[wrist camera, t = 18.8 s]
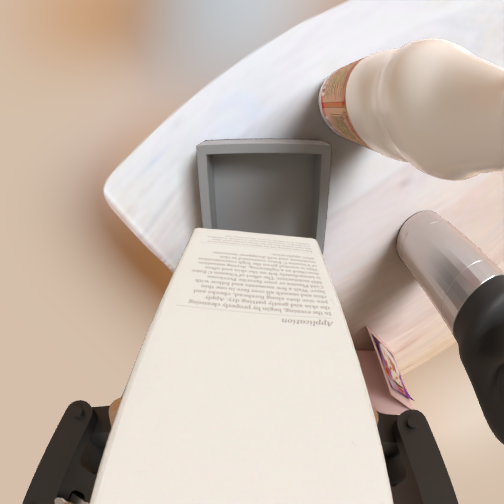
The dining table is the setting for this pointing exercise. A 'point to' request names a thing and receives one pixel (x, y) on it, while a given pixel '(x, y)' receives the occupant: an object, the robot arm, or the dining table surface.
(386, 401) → the greeting card
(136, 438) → the small box
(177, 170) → the dining table surface
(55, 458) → the robot arm
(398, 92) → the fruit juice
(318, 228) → the tote
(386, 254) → the dining table surface
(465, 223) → the dining table surface
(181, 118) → the dining table surface
